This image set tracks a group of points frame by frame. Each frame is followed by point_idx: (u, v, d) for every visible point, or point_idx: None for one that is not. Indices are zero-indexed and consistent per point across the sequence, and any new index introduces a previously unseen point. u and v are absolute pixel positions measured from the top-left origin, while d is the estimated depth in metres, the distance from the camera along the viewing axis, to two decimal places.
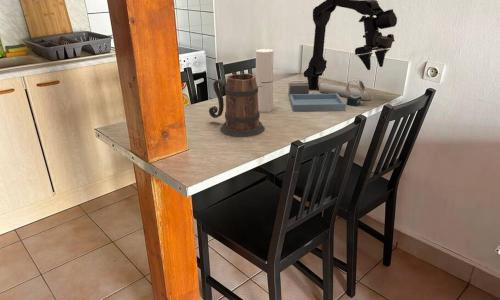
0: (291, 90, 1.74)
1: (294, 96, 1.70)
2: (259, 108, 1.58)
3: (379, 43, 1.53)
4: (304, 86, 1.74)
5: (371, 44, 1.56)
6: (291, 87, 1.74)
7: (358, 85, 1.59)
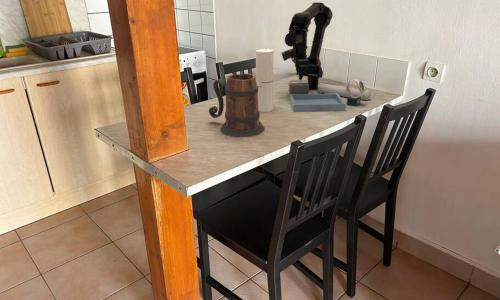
0: (291, 90, 1.74)
1: (294, 96, 1.70)
2: (259, 108, 1.58)
3: None
4: (304, 86, 1.74)
5: None
6: (291, 87, 1.74)
7: (358, 85, 1.59)
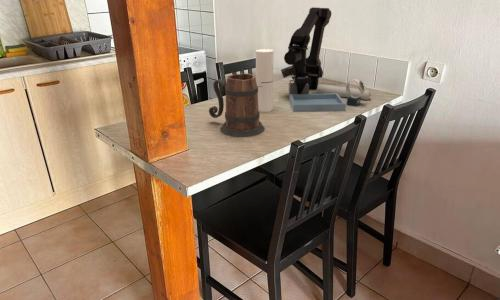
0: (291, 90, 1.74)
1: (294, 96, 1.70)
2: (259, 108, 1.58)
3: None
4: None
5: None
6: (291, 87, 1.74)
7: (358, 85, 1.59)
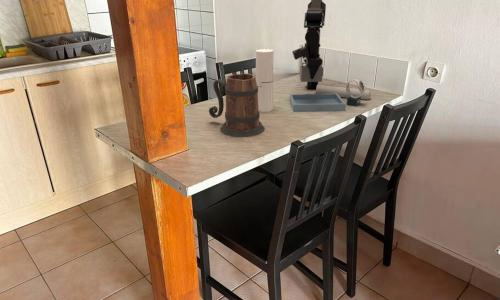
0: (303, 73, 1.61)
1: (294, 96, 1.70)
2: (259, 108, 1.58)
3: None
4: None
5: None
6: (303, 70, 1.60)
7: (358, 85, 1.59)
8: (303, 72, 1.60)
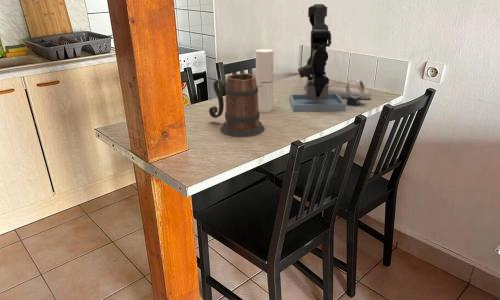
0: (309, 91, 1.59)
1: (294, 96, 1.70)
2: (259, 108, 1.58)
3: None
4: None
5: None
6: (309, 87, 1.59)
7: (358, 85, 1.59)
8: (309, 90, 1.59)
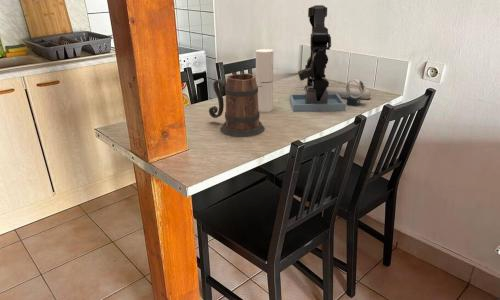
0: (308, 97, 1.60)
1: (294, 96, 1.70)
2: (259, 108, 1.58)
3: None
4: None
5: None
6: (309, 94, 1.60)
7: (358, 85, 1.59)
8: (308, 96, 1.60)
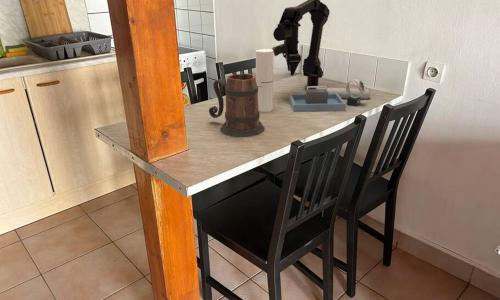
0: (308, 97, 1.60)
1: (294, 96, 1.70)
2: (259, 108, 1.58)
3: None
4: (323, 93, 1.60)
5: None
6: (309, 94, 1.60)
7: (358, 85, 1.59)
8: (308, 96, 1.60)
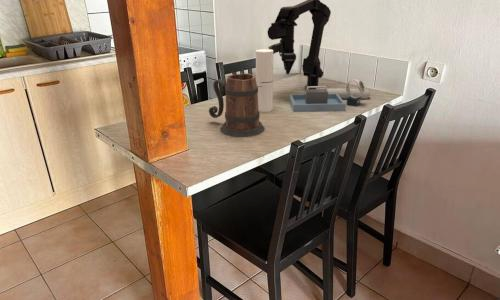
0: (308, 97, 1.60)
1: (294, 96, 1.70)
2: (259, 108, 1.58)
3: None
4: (323, 93, 1.60)
5: None
6: (309, 94, 1.60)
7: (358, 85, 1.59)
8: (308, 96, 1.60)
